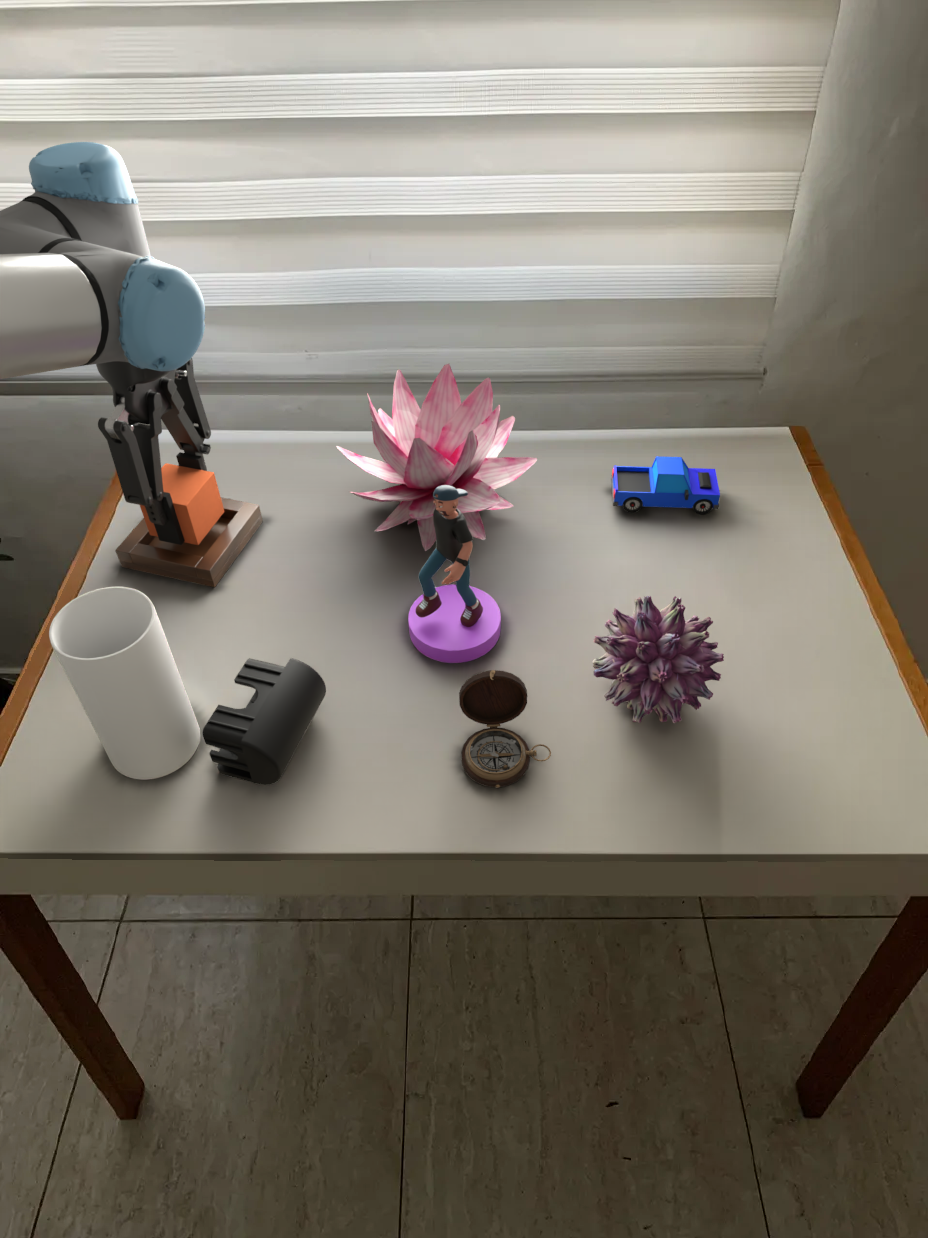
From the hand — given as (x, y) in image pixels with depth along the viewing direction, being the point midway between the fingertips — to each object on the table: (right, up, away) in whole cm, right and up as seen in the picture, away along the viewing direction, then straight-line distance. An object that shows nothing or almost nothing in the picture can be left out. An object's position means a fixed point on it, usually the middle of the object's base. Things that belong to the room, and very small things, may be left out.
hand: (187, 521), depth 101 cm
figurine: (+30, -12, -8) cm, 33 cm away
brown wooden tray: (0, -2, +2) cm, 3 cm away
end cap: (+13, -22, -17) cm, 31 cm away
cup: (+2, -22, -17) cm, 28 cm away
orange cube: (0, 0, 0) cm, 0 cm away
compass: (+34, -23, -19) cm, 45 cm away
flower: (+48, -19, -15) cm, 54 cm away
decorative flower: (+28, +2, +6) cm, 28 cm away
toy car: (+54, +3, +6) cm, 54 cm away
